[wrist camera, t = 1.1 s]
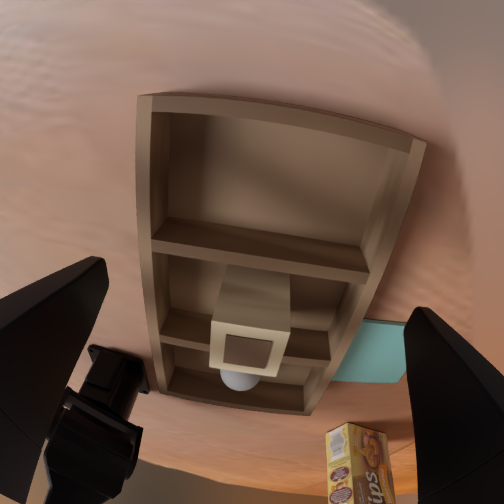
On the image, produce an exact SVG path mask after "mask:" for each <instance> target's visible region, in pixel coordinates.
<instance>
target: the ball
mask: <svg viewBox="0 0 504 504" xmlns="http://www.w3.org/2000/svg"><path fill="white" fill-rule="evenodd" d="M220 374H221V378H222V380H223V382H224V383H225V384H226V385H227V386H228V387H229V388H231V389H233V390H237V391H245V390H249V389H251V388H253V387H254V386H255V385H256V384H257V383H258V382H259V380H260V377H261V375H256V374H249V373H243V372H236V371H230V370H224V369H220Z"/></svg>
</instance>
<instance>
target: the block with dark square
mask: <svg viewBox="0 0 504 504" xmlns="http://www.w3.org/2000/svg"><path fill="white" fill-rule="evenodd" d="M289 335H290V274H289V273H283V272H276V271H270V270H263V269H257V268H250V267H244V266H238V265H231V264H227V267H226V270H225V274H224V277H223V281H222V284H221V288H220V291H219V295H218V299H217V302H216V306H215V310H214V313H213V317H212V320H211V339H210V360H209V367H212V368H218V369H224V370H230V371H236V372H243V373H249V374H256V375H264V376H272V377H276V375H277V372H278V369H279V366H280V363H281V360H282V357H283V354H284V351H285V348H286V345H287V342H288V339H289Z"/></svg>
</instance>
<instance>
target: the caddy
mask: <svg viewBox="0 0 504 504" xmlns="http://www.w3.org/2000/svg"><path fill="white" fill-rule="evenodd" d="M426 145H427V143H426V142H424V141H422V140H420V139H418V138H416V137H414V136H412V135H409V134H407V133H405V132H403V131H400V130H397V129H394V128H390V127H387V126H384V125H380V124H376V123H373V122H369V121H365V120H362V119H358V118H354V117H350V116H346V115H341V114H337V113H333V112H328V111H323V110H319V109H314V108H309V107H303V106H298V105H292V104H286V103H280V102H273V101H267V100H259V99H251V98H243V97H234V96H223V95H211V94H196V93H172V92H161V93H153V94H145V95H138V97H137V116H136V208H137V228H138V243H139V255H140V266H141V277H142V286H143V295H144V303H145V310H146V318H147V325H148V331H149V338H150V344H151V350H152V356H153V361H154V367H155V372H156V377H157V382H158V387H159V392H160V393H161V394H165V395H170V396H174V397H178V398H183V399H188V400H192V401H197V402H202V403H208V404H213V405H219V406H225V407H231V408H238V409H245V410H252V411H260V412H268V413H278V414H289V415H302V416H310V415H311V413H312V412H313V410H314V409H315V407H316V405H317V404H318V402H319V400H320V399H321V397H322V395H323V394H324V392H325V390H326V388H327V387H328V385H329V383H330V381H331V380H332V378H333V376H334V374H335V372H336V371H337V369H338V367H339V365H340V363H341V361H342V360H343V358H344V356H345V354H346V352H347V350H348V348H349V346H350V344H351V342H352V340H353V338H354V336H355V334H356V332H357V330H358V328H359V326H360V324H361V322H362V320H363V318H364V316H365V314H366V311H367V309H368V307H369V305H370V303H371V301H372V298H373V296H374V294H375V292H376V289H377V287H378V285H379V282H380V280H381V278H382V275H383V273H384V270H385V268H386V266H387V263H388V261H389V258H390V256H391V253H392V250H393V248H394V245H395V243H396V240H397V237H398V235H399V232H400V229H401V226H402V223H403V221H404V218H405V215H406V212H407V209H408V206H409V203H410V200H411V197H412V194H413V190H414V187H415V184H416V181H417V177H418V174H419V170H420V167H421V163H422V160H423V156H424V152H425V149H426ZM227 264H231V265H238V266H244V267H250V268H257V269H263V270H270V271H276V272H283V273H289V274H290V335H289V339H288V342H287V345H286V348H285V351H284V354H283V357H282V360H281V363H280V366H279V369H278V372H277V375H276V377H272V376H264V375H261V377H260V380H259V382H258V383H257V384H256V385H255V386H254V387H253V388H251V389H249V390H245V391H237V390H233V389H231V388H229V387H228V386H227V385H226V384H225V383H224V382H223V380H222V378H221V374H220V369H218V368H212V367H209V360H210V339H211V320H212V317H213V313H214V310H215V306H216V302H217V299H218V295H219V291H220V288H221V284H222V281H223V277H224V274H225V270H226V267H227Z"/></svg>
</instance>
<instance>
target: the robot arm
mask: <svg viewBox="0 0 504 504" xmlns="http://www.w3.org/2000/svg"><path fill="white" fill-rule="evenodd" d="M108 288H109V278H108V273H107V267H106V262H105V260H104V259H103V258H101V257H96V256H90V257H88V258H85V259H83V260H81V261H79V262H77V263H74V264H72V265H70V266H68V267H66V268H63V269H61V270H59V271H57V272H55V273H53V274H50V275H48V276H46V277H44V278H42V279H40V280H38V281H36V282H34V283H32V284H30V285H28V286H25V287H23V288H21V289H19V290H17V291H15V292H13V293H11V294H9V295H7V296H5V297H4V298H2V299H0V494H2V495H4V496H6V497H8V498H10V499H12V500H14V501H16V502H18V503H20V504H25V503H26V501H27V496H28V493H29V489H30V486H31V483H32V479H33V475H34V472H35V469H36V466H37V463H38V460H39V457H40V454H41V451H42V450H41V449H42V447H43V444H44V441H45V439H47V440H48V441H49V442H48V444H47V446H46V449H45V451H44V456H43V458H44V464H45V469H46V473H47V479H48V483H49V489H48V492H47V494H46V497H45V500H44V503H43V504H102V503H104V502H106V501H107V500H109V499H110V498H111V499H113V498H115V497H116V496H117V495H118V494H119V493H120V492H121V490H122V486H123V482H124V480H128V479H129V478H130V476H131V475H132V473H133V471H134V469H135V466H136V463H137V459H138V454H139V448H140V443H141V438H142V433H143V428H142V427H140V426H136V425H134V424H132V423H130V422H128V419H129V417H130V414H131V411H132V408H133V406H134V403H135V400H136V398H137V395H138V392H140V393H143V394H149V392H150V389H149V385H148V381H147V377H146V373H145V369H144V364H143V361H142V360H140V359H138V358H134V357H130V356H127V355H123V354H120V353H116V352H113V351H109V350H106V349H103V348H99V347H96V346H93V345H89V347H88V348H87V350H88V352H89V355H90V357H91V360H92V362H93V364H92V366H91V368H90V370H89V372H88V374H87V376H86V378H85V381H84V383H83V385H82V387H81V389H80V391H79V393H77V392H75V391H73V390H72V388H70V387H69V386H67V383H68V381H69V379H70V376H71V374H72V372H73V370H74V367H75V365H76V363H77V361H78V359H79V357H80V354H81V352H82V350H83V348H84V346H85V344H86V342H87V340H88V338H89V336H90V334H91V331H92V329H93V326H94V324H95V321H96V319H97V316H98V313H99V311H100V308H101V306H102V303H103V301H104V298H105V296H106V293H107V291H108ZM403 337H404V347H405V359H406V373H407V382H408V388H409V395H410V402H411V410H412V418H413V426H414V436H415V447H416V461H417V480H418V500H419V501H418V504H504V376H503V375H502V374H501V373H500V372H499V371H498V370H497V369H496V368H495V367H494V366H493V365H492V364H491V363H490V362H489V361H488V360H486V358H485V357H483V356H482V355H481V354H480V353H479V352H478V351H477V350H476V349H475V348H474V347H473V346H472V345H471V344H469V343H468V342H467V341H466V340H465V339H464V338H463V337H462V336H461V335H460V334H458V333H457V332H456V331H455V330H454V329H453V328H452V327H451V326H449V325H448V324H447V323H446V322H445V321H444V320H443V319H441V318H440V317H439V316H438V315H437V314H436V313H435V312H433V311H432V310H431V309H430V308H428V307H420V306H419V307H416V308H415V309H414V311H413V312H412V314H411V316H410V318H409V320H408V321H407V323H406V325H405V327H404V331H403ZM66 386H67V387H66ZM65 388H66V389H65ZM64 406H66V407H67V408H69V409H70V410H69V409H67V408H64Z"/></svg>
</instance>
